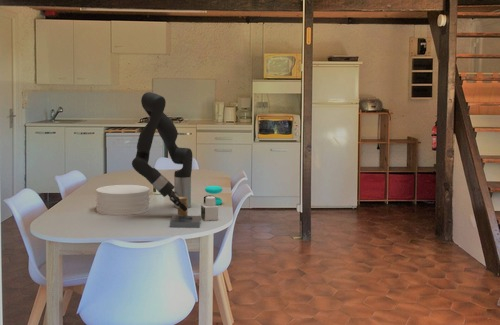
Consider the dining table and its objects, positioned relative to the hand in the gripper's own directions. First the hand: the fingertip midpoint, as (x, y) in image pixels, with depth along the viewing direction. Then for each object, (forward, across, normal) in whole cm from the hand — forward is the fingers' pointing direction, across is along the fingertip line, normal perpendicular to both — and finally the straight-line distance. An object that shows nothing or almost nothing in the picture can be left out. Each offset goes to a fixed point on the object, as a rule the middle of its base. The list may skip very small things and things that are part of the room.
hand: (186, 208), depth 288 cm
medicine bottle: (+12, -5, -5) cm, 14 cm away
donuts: (+13, +35, -6) cm, 37 cm away
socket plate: (+3, -16, +2) cm, 16 cm away
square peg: (+2, 0, +4) cm, 5 cm away
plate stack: (-22, +16, +28) cm, 39 cm away
